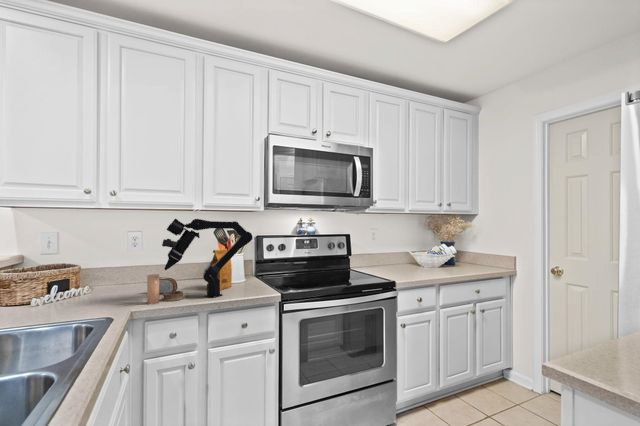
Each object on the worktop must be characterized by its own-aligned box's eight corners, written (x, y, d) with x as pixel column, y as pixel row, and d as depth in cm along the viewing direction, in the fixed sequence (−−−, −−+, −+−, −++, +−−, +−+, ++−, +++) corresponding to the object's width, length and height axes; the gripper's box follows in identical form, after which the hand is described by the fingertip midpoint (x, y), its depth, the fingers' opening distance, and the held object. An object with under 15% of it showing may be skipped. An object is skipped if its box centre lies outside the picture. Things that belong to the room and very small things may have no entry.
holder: (187, 298, 163) (187, 292, 163) (169, 302, 156) (169, 295, 156) (176, 296, 168) (176, 290, 169) (159, 299, 161) (159, 293, 161)
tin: (177, 293, 174) (177, 277, 174) (173, 295, 171) (173, 278, 171) (154, 292, 178) (154, 276, 178) (149, 293, 175) (149, 277, 175)
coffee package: (205, 289, 183) (205, 249, 184) (220, 285, 195) (220, 248, 195) (219, 291, 179) (219, 250, 180) (234, 286, 190) (234, 248, 191)
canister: (161, 302, 156) (161, 274, 156) (150, 304, 152) (150, 276, 152) (155, 301, 159) (155, 273, 159) (145, 303, 154) (145, 275, 155)
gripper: (171, 231, 170) (152, 257, 167) (168, 232, 153) (147, 262, 149) (190, 243, 173) (172, 269, 170) (190, 245, 156) (170, 274, 153)
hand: (165, 268), depth 160 cm, fingers open, 9 cm apart
